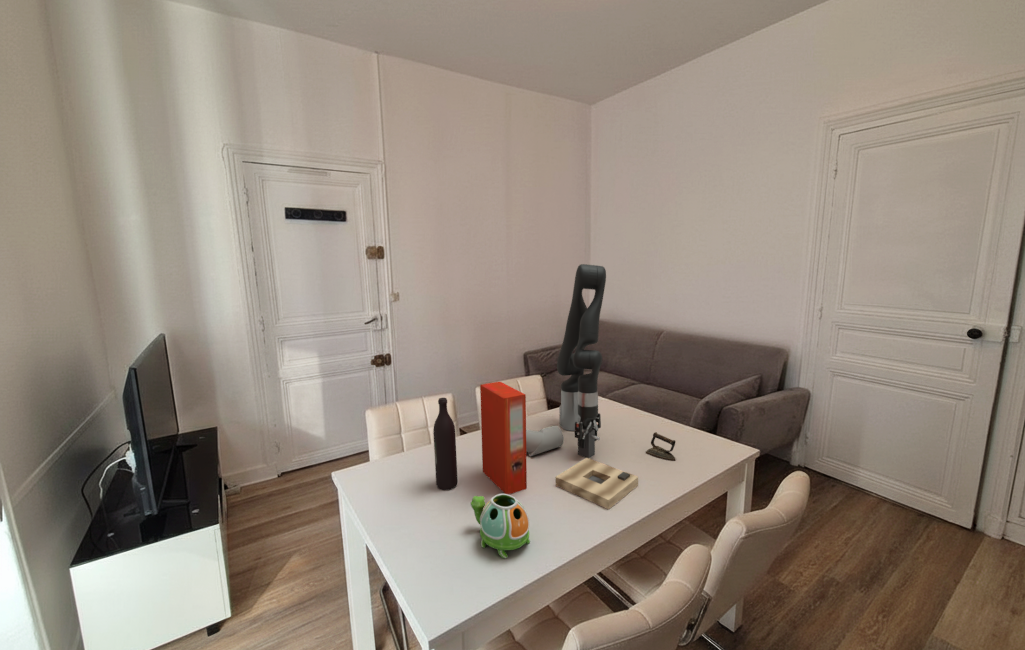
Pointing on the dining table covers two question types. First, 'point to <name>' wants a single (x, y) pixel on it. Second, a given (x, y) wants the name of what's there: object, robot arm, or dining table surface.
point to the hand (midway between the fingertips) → (588, 443)
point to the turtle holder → (501, 522)
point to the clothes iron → (659, 451)
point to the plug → (588, 444)
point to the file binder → (504, 436)
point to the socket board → (597, 482)
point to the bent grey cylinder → (543, 440)
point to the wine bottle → (445, 449)
